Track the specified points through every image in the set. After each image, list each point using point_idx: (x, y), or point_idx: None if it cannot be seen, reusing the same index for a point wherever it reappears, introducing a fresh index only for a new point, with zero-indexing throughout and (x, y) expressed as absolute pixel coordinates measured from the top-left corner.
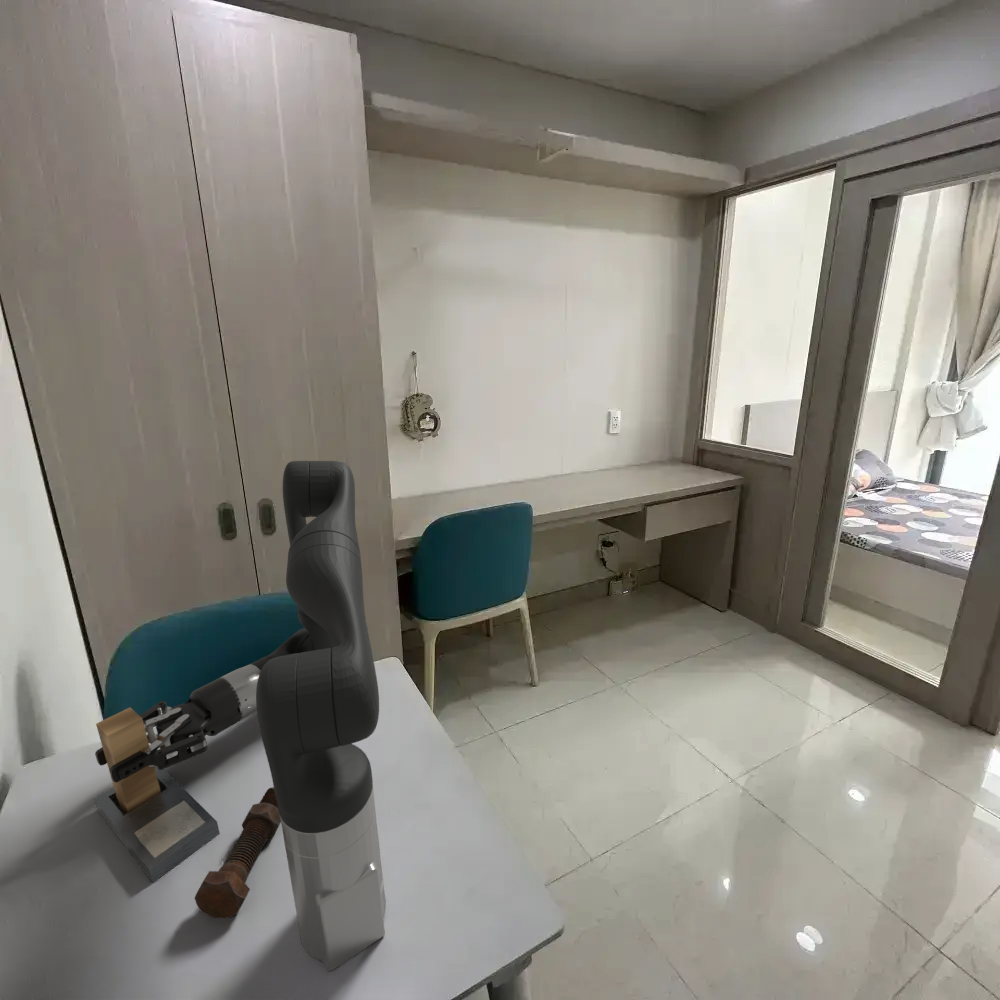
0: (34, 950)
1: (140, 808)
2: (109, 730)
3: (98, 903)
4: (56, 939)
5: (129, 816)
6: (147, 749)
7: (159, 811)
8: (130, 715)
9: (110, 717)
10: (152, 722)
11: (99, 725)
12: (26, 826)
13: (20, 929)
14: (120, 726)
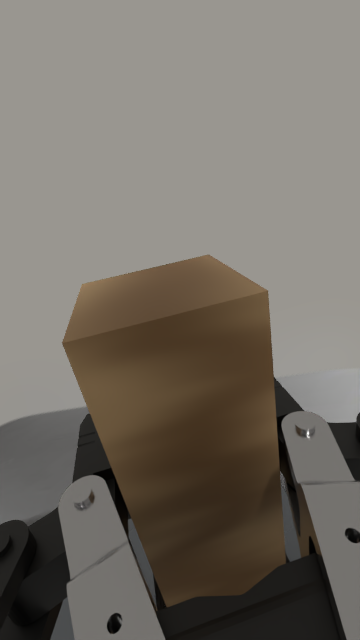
0: (33, 430)
1: (139, 562)
2: (114, 281)
3: (15, 491)
4: (20, 448)
5: (132, 531)
6: (76, 487)
7: (70, 622)
8: (161, 303)
9: (219, 266)
10: (314, 514)
11: (184, 260)
12: (286, 390)
13: (82, 414)
14: (102, 296)
